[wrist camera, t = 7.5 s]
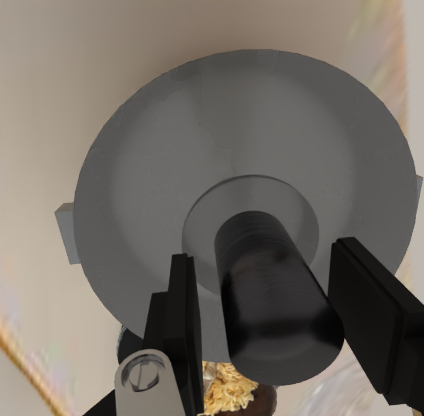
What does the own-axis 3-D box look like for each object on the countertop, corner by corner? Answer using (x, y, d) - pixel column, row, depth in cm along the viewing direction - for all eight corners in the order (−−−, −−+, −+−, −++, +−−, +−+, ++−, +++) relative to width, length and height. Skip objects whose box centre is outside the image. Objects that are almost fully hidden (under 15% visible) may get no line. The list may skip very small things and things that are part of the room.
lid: (40, 67, 12) (-146, 56, 5) (429, 37, 12) (702, -8, 6) (116, 358, 18) (73, 524, 11) (378, 331, 18) (484, 475, 12)
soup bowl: (308, 286, 26) (349, 361, 19) (262, 415, 32) (281, 507, 25) (125, 265, 24) (99, 338, 17) (113, 405, 30) (89, 502, 23)
